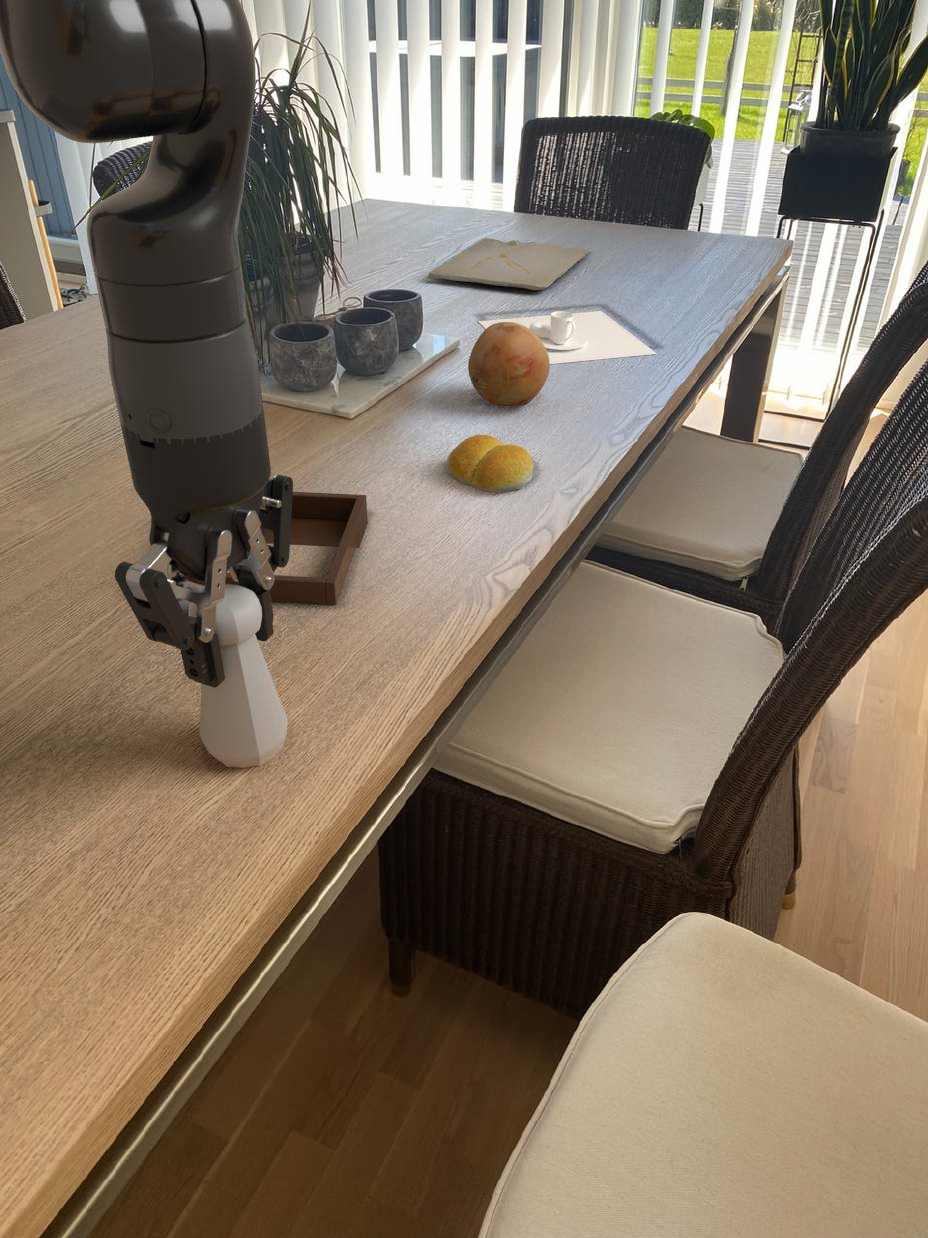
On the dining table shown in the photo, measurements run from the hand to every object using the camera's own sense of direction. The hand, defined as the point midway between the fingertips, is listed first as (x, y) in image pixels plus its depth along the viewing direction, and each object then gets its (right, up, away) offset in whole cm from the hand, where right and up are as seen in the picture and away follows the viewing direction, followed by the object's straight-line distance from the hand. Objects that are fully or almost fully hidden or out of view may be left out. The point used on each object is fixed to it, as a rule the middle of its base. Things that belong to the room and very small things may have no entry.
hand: (233, 657), depth 60 cm
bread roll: (+18, +17, +40) cm, 47 cm away
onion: (+20, +29, +56) cm, 66 cm away
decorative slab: (+23, +64, +106) cm, 126 cm away
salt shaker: (0, -7, +5) cm, 9 cm away
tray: (-3, +8, +25) cm, 27 cm away
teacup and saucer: (+29, +43, +77) cm, 93 cm away
